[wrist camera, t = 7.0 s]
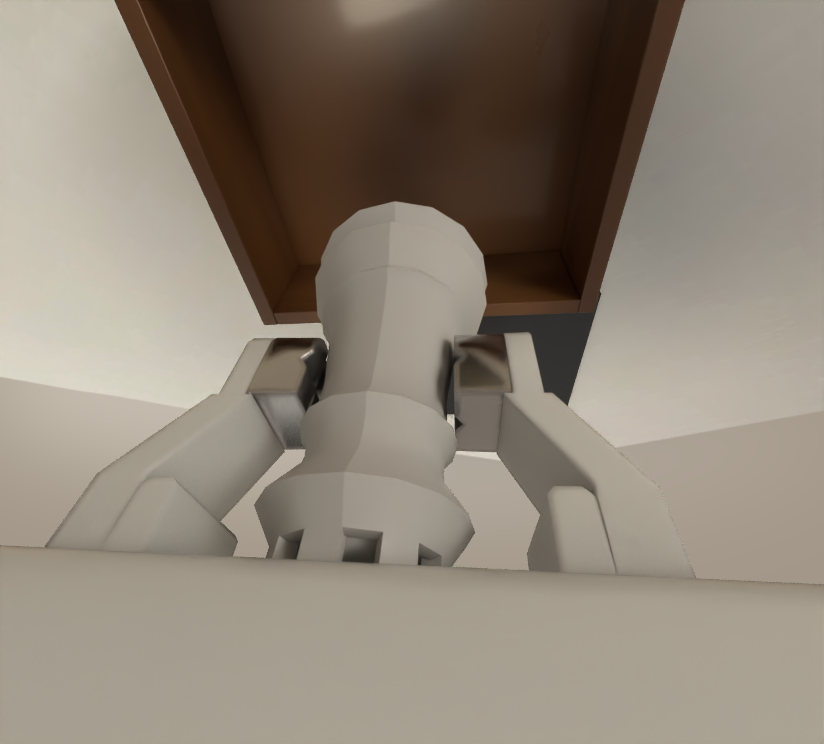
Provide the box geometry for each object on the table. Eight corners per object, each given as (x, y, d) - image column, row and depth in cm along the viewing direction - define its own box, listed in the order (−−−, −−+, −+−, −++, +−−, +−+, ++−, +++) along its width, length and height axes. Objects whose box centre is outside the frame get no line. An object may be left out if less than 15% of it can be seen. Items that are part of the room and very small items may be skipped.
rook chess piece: (305, 196, 9) (89, 522, 4) (492, 189, 9) (562, 543, 3) (341, 337, 13) (253, 627, 7) (481, 336, 12) (506, 644, 7)
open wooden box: (655, -134, 13) (739, -180, 9) (570, 259, 23) (593, 312, 20) (171, -58, 15) (80, -71, 11) (290, 274, 25) (264, 325, 22)
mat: (599, 289, 25) (601, 293, 24) (564, 408, 33) (565, 413, 33) (325, 301, 27) (324, 305, 26) (359, 411, 35) (358, 415, 35)
